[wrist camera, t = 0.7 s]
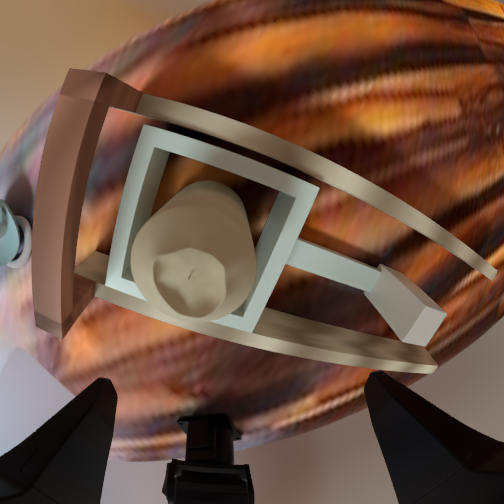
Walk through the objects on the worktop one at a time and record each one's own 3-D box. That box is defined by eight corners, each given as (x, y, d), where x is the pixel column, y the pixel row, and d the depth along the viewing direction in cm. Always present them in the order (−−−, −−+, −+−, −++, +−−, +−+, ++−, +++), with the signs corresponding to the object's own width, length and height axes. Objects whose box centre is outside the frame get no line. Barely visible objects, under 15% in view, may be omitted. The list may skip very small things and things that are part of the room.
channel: (474, 256, 23) (528, 292, 14) (416, 352, 27) (452, 403, 18) (135, 97, 15) (69, 68, 7) (93, 263, 20) (35, 326, 11)
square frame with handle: (419, 239, 21) (470, 272, 14) (367, 330, 24) (399, 379, 18) (163, 129, 16) (127, 120, 10) (127, 258, 20) (89, 306, 13)
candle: (154, 212, 19) (93, 273, 9) (213, 163, 18) (195, 180, 9) (202, 267, 21) (185, 360, 11) (261, 224, 20) (289, 296, 10)
